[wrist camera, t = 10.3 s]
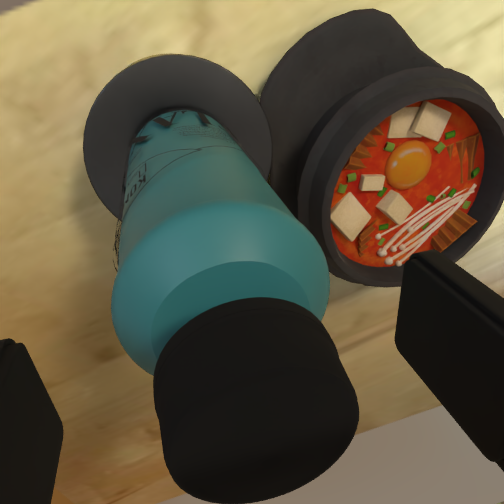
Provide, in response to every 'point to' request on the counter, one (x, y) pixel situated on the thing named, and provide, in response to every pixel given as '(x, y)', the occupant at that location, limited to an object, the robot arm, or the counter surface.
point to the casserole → (381, 148)
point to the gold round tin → (165, 98)
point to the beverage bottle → (227, 317)
